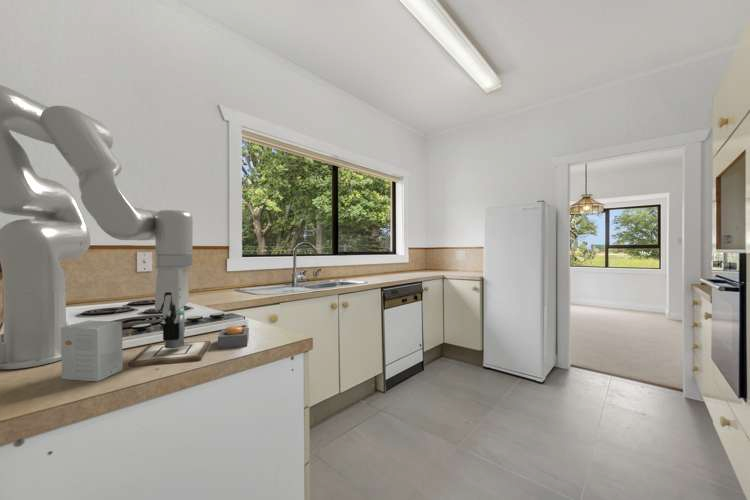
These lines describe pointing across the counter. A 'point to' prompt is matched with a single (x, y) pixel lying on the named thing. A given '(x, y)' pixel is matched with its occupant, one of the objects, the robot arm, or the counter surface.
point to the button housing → (233, 339)
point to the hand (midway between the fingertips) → (174, 336)
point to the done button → (234, 330)
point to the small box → (91, 350)
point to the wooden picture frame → (170, 353)
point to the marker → (181, 331)
